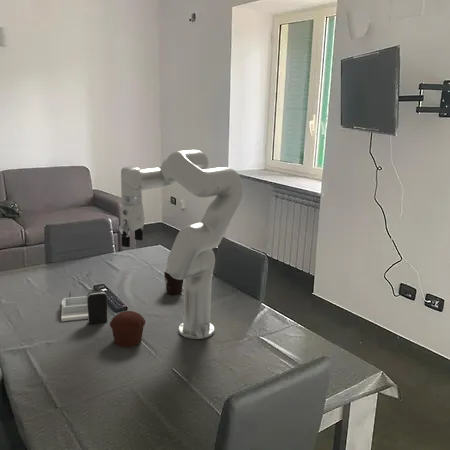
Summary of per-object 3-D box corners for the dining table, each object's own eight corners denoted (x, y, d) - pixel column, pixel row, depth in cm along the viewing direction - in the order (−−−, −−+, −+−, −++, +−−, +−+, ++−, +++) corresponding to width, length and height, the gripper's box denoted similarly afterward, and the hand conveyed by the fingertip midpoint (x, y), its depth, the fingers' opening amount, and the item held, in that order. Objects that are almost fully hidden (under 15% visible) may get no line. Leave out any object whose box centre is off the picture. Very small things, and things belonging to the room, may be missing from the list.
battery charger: (106, 317, 170) (105, 289, 167) (108, 322, 167) (107, 292, 164) (87, 320, 168) (85, 291, 165) (88, 324, 164) (87, 295, 161)
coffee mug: (183, 296, 191) (183, 274, 188) (162, 295, 191) (162, 273, 188) (186, 286, 202) (186, 264, 200) (166, 285, 202) (166, 263, 200)
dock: (98, 317, 170) (98, 308, 169) (61, 321, 166) (60, 312, 165) (95, 290, 194) (94, 282, 193) (62, 293, 190) (62, 284, 189)
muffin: (110, 351, 148) (109, 322, 145) (109, 334, 158) (108, 308, 155) (147, 347, 151) (147, 319, 148) (144, 331, 161) (143, 305, 159)
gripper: (128, 205, 164) (129, 250, 168) (151, 196, 180) (151, 238, 184) (110, 203, 166) (111, 248, 170) (134, 194, 182) (135, 236, 186)
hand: (132, 243), depth 177 cm, fingers open, 9 cm apart
